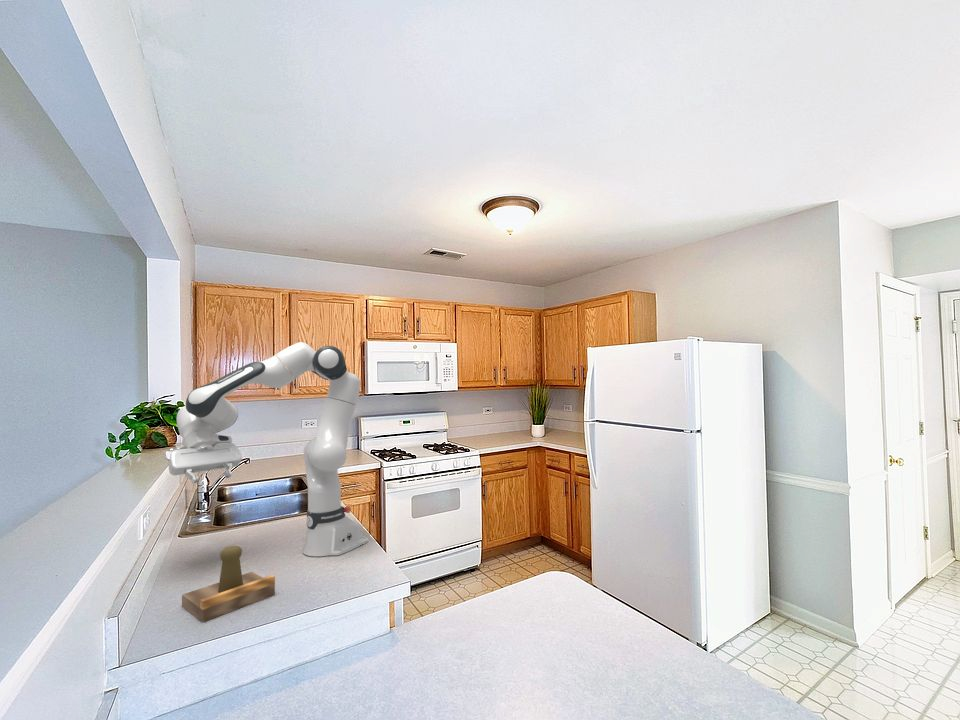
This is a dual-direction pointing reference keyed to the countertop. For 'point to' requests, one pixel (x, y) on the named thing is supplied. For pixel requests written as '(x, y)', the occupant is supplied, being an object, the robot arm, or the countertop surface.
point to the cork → (230, 568)
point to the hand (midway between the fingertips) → (212, 479)
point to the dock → (227, 606)
